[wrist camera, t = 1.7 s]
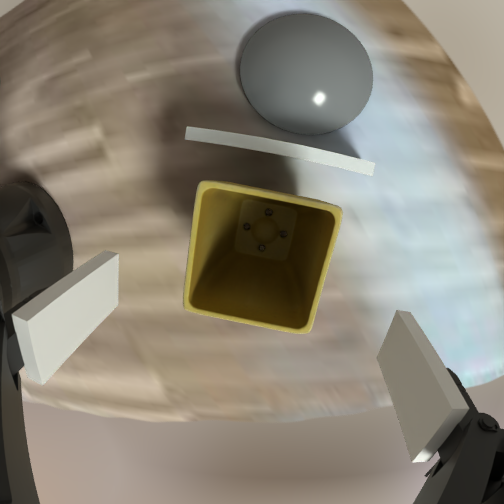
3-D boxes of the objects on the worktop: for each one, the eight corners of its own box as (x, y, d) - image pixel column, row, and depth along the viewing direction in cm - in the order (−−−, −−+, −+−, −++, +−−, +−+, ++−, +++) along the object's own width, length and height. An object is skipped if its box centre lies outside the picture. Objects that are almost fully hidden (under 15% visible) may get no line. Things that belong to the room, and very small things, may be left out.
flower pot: (224, 168, 27) (197, 178, 18) (325, 188, 26) (345, 208, 18) (209, 264, 30) (181, 310, 21) (302, 283, 29) (309, 336, 21)
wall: (198, 140, 26) (184, 139, 22) (200, 129, 26) (186, 126, 22) (359, 172, 26) (372, 176, 22) (362, 160, 25) (375, 163, 22)
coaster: (230, 121, 25) (229, 121, 25) (253, 8, 22) (252, 5, 21) (359, 148, 25) (361, 148, 24) (377, 34, 21) (379, 32, 21)
